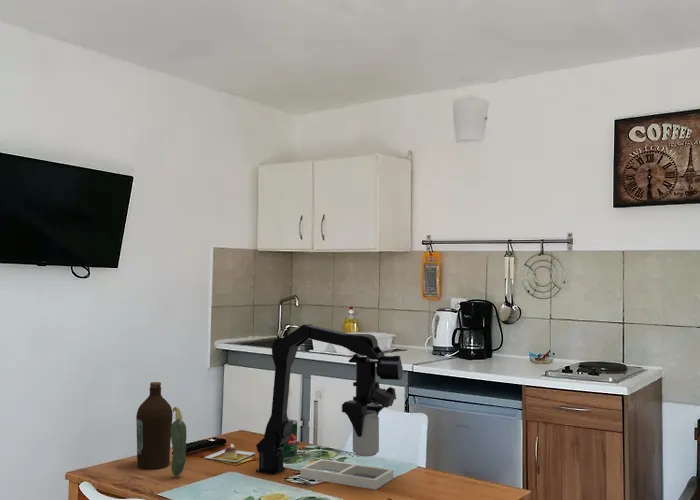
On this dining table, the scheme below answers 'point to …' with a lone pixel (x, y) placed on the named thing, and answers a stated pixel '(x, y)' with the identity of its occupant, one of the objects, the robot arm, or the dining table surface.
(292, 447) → the canned tomato
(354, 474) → the mat
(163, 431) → the olive oil
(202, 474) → the dining table surface
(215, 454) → the dessert
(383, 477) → the organizer
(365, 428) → the can
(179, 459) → the vegetable
